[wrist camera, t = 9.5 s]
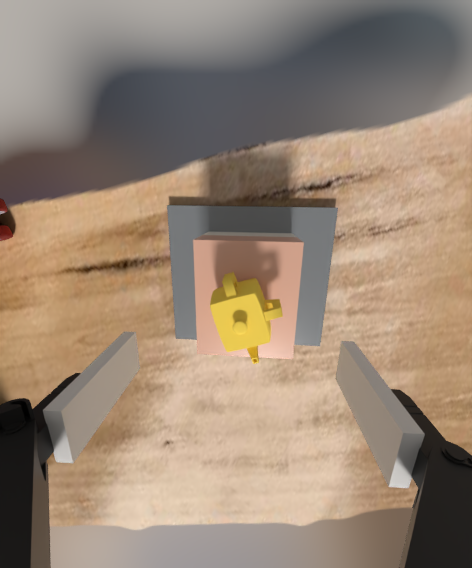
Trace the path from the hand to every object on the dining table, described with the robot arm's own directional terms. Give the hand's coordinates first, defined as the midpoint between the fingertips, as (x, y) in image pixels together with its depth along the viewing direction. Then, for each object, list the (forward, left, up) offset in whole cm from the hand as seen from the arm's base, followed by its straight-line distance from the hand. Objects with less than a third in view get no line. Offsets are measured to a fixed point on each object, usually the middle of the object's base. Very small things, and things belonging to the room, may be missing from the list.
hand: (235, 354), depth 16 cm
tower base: (0, 0, -18) cm, 18 cm away
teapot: (+1, 0, -9) cm, 9 cm away
